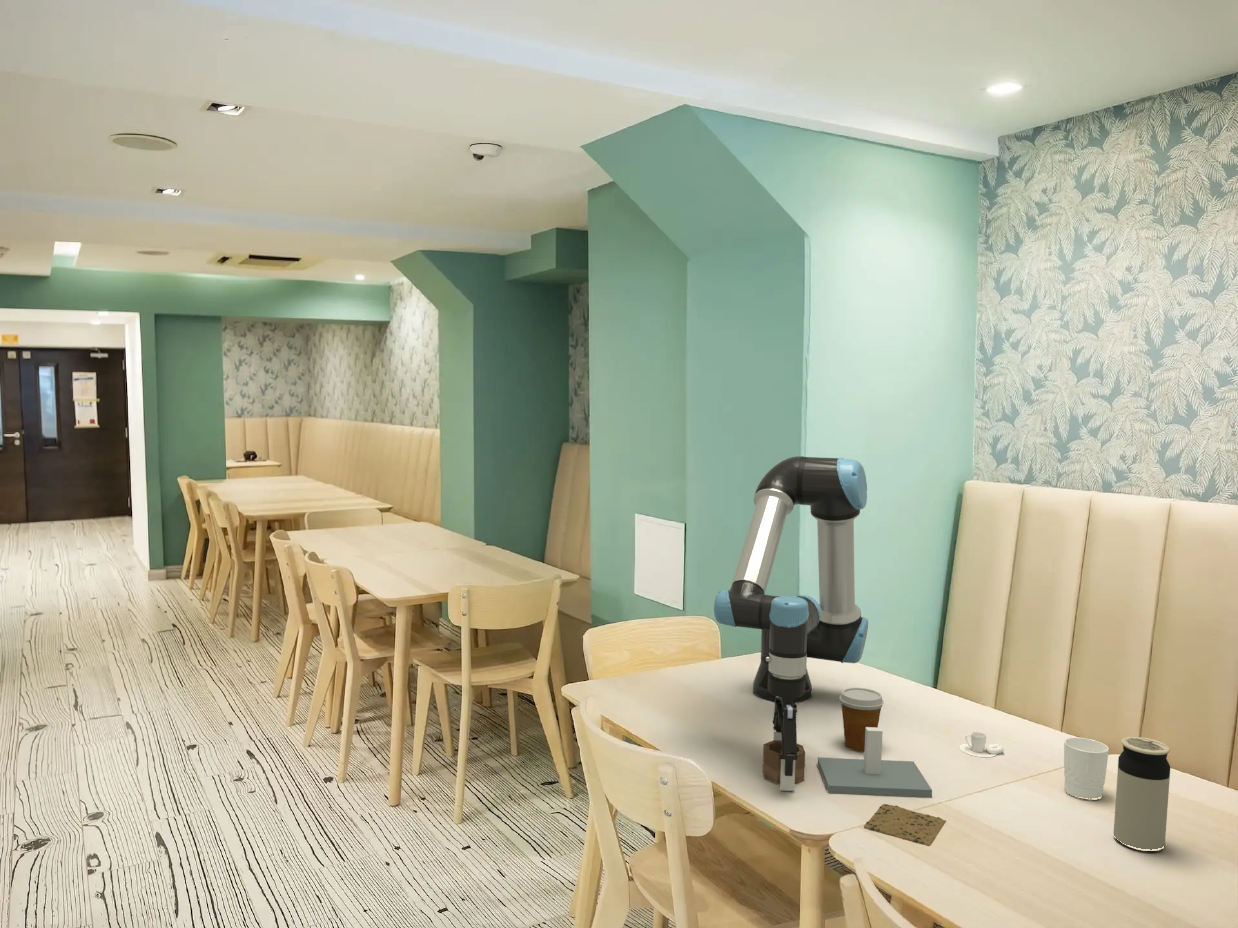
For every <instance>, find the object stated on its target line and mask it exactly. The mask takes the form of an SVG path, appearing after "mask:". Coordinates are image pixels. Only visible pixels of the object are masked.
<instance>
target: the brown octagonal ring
mask: <svg viewBox="0 0 1238 928" xmlns="http://www.w3.org/2000/svg"><path fill="white" fill-rule="evenodd" d="M762 750H763V751H762V776H763V779H764V780H766V781H768V782H770V783H773V784H775V785H780V776H781V759H779V755H782V741H781V740H770V741H769V742H768V741H767V742H765V743H763V747H762ZM788 753H792V752H788ZM797 756H798V758H797V760H795V785H797V784H800V783H802V782H804V781H805V770H806V769H805V767H806V751H805V748H804V745H803V744H799V743H797Z"/></svg>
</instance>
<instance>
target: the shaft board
mask: <svg viewBox="0 0 1238 928" xmlns="http://www.w3.org/2000/svg"><path fill="white" fill-rule="evenodd" d="M883 732H884V731H883V729H882V728H881V727H878V728H876V727H865V750H864V752H863V753H864V754H863V758H861V759H860V758H843V757H842V758H839V757H819V756H818V757H817V761H816V762H817V763H816V764H817V767H818V770H819V772H820V776H821V778H822V780H823V782H824V785H825V788H826V790H827V793H828V794H839V795H840V794H841V795H843V794H844V795H867V796H868V795H869V796H887V797H889V796H890V797H891V796H892V797H911V798H913V797H915V798H933V789H932V787H931V786H930V784H929V782H928V781H927V780H926V778H925V777H924V775H923V773H922V772H921V771H920V769H919V767H918V766H917V765H916V763H915V761H914V760H913V761H912V760H910V761H909V760H908V761H907V760H891V759H890V760H889V759H888V760H886V759H882V751H883V750H882V749H883Z"/></svg>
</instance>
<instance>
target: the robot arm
mask: <svg viewBox="0 0 1238 928" xmlns="http://www.w3.org/2000/svg"><path fill="white" fill-rule="evenodd" d="M867 493H868V483H867V476H866V472H865V469H864V466H863V465H862V463H861V462H860V461H858V460H857V459H850V458H844V457H839V458H838V457H820V456H819V457H815V456H804V455H801V456H800V455H798V456H792V457H791V456H790V457H788V458H786V459H784V460H782V461H780V462H778V463H777V464H775V465H774V466H773V467H772V468H771V469H769V470H768V471H767V473H766V474H765V475H764V477H762V478H761V480H760V482H759V483H758V485H757V488H756V490H755V492H754V496H753V503H754V505H755V507H754V510H753V514H752V518H751V521H750V524H749V527H748V530H747V533H746V537H745V541H744V543H743V547H742V550H741V552H740V557H739V560H738V563H737V566H736V570H735V574H734V576H733V579H732V582H731V586H730V589H722V590H719V591H718V593H717V594H716V596H715V600H714V605H713V614H714V617H715V620H716V622H717V623H718V624H720V625H721V624H722V625H724V626H730V627H733V628H737V627H738V628H746V629H755V630H756V629H757V630H761V639H760V640H761V641H760V643H761V644H760V663H759V666H758V668H757V671H756V674H755V677H754V680H753V682H752V692H753V693H754V694H755V696H756V697H759V698H762V699H764V700H769V701H773V702H774V708H773V717H772V718H773V720H772V725H773V727H772V728H773V740H781V741H782V755H779V759H781V776H780V784H779V790H780V791H788V792H794V791H795V785H796V784H795V760H797V758H798V756H797V744H798V743H797V742H798V740H797V739H798V738H797V737H798V735H797V713H798V709H797V707H798V706H797V704H796V702H803V701H806V700H809V699H811V698H812V695H813V693H812V692H813V686H812V682H811V679H810V675H809V672H808V671H809V670H808V669H807V662H808V661H807V660H808V659H809V658H811V659H816V660H823V661H824V660H826V661H831V662H838V663H842V664H844V663H848V664H857V663H858V662H860V660H861V659H862V657H863V653H864V649H865V646H866V641H867V635H868V628H869V619H868V618H866V617H864V616H863V617H862V611H861V608H860V607H859V606H858V605H857V604H855V603H856V601H855V596H856V595H855V591H856V590H855V534H854V533H855V532H854V531H855V529H854V528H855V527H854V526H855V525H854V522H855V521H854V520H855V519H857V518H858V517H859V516H860V514H861V510H863V509H864V508H866V506H867V501H868V494H867ZM795 505H800V506H810V514H811V517H813V518H814V519H815V520H816V523H817V524H816V525H817V526H816V527H817V555H818V556H817V558H818V559H817V560H818V562H817V563H818V588H819V591H818V592H819V603H818V601H817V600H816V599H815V598H813V597H811V596H810V595H807V594H805V595H801V594H800V595H797V596H792V595H783V596H781V595H772V594H771V595H770V594H766V590H767V587H768V583H769V580H770V576H771V573H772V569H773V565H774V561H775V558H776V555H777V551H778V547H779V544H780V540H781V536H782V533H783V529H784V527H785V526H784V525H785V522H786V519H787V516H788V515H790V514H791V513H792V512H793V510H794V506H795ZM773 740H772V741H773ZM788 752H792V753H788Z"/></svg>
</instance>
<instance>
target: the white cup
mask: <svg viewBox="0 0 1238 928" xmlns="http://www.w3.org/2000/svg"><path fill="white" fill-rule="evenodd" d="M1063 746H1064V747H1063V749H1064V750H1063V757H1064V758H1063V775H1064V791H1065V793H1066V792H1067V793H1066V794H1067V795H1069V794H1070V795H1069V796H1071V795H1072V796H1071V797H1073V796H1077V797H1083V798H1088V799H1089V798H1090V799H1092V798H1098V797H1101V796H1102V795H1103V796H1104V787H1105V786H1104V785H1105V783H1106V775H1107V767H1108V758H1109V750H1110V749H1109V746H1108V745H1106V744H1104V743H1103V742H1101V741H1098V740H1094V739H1091V738H1085V737H1078V736H1077V737H1068V738H1065V740H1064V741H1063ZM1103 796H1102V797H1103Z"/></svg>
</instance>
